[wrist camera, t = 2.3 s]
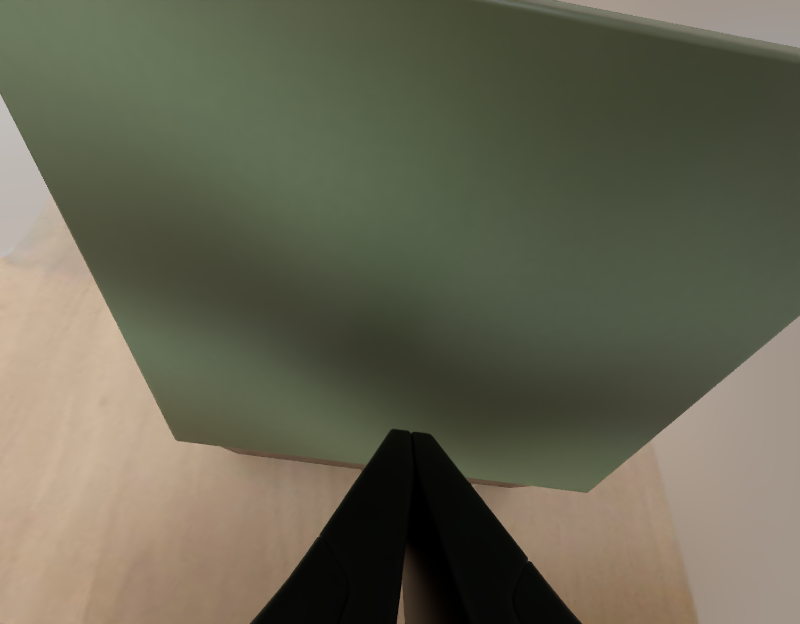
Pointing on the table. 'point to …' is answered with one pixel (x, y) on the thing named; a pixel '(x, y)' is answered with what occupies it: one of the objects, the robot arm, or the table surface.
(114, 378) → the table surface
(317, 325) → the lid
